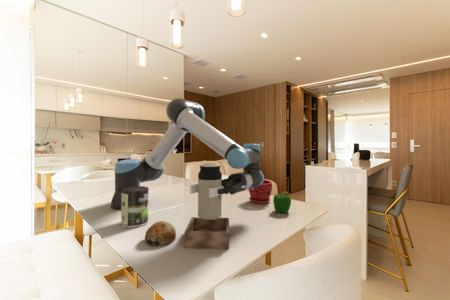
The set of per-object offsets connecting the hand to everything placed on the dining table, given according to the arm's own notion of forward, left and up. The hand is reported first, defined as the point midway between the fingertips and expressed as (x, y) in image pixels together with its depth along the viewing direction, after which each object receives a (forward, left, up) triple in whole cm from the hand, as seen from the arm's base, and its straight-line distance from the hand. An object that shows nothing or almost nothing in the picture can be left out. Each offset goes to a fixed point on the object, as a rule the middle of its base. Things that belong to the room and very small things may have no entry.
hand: (200, 191), depth 72 cm
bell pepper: (+36, +36, -17) cm, 54 cm away
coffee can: (-28, +17, -17) cm, 37 cm away
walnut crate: (+3, +4, -17) cm, 18 cm away
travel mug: (+3, +4, -10) cm, 11 cm away
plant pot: (+28, +53, -17) cm, 62 cm away
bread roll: (-13, +2, -18) cm, 22 cm away
